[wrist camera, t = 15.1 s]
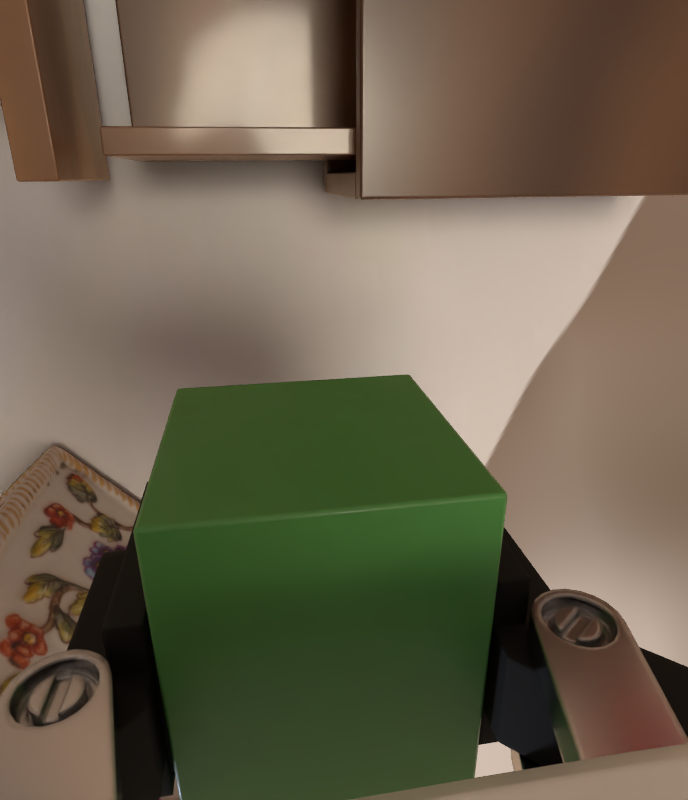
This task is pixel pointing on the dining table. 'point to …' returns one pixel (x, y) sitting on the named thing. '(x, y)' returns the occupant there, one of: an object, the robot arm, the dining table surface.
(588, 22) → the cabinet
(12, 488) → the decorative jar
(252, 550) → the green block
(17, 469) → the dining table surface
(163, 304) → the dining table surface
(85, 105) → the drawer
